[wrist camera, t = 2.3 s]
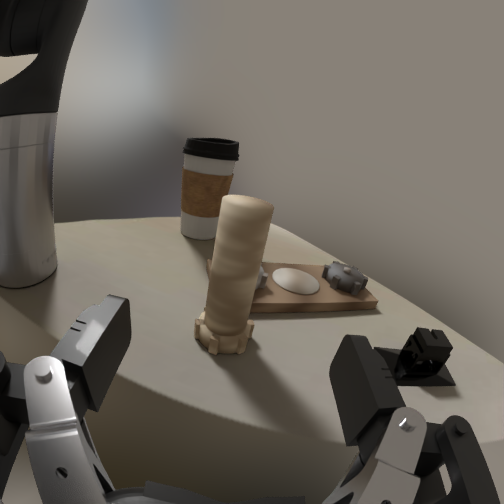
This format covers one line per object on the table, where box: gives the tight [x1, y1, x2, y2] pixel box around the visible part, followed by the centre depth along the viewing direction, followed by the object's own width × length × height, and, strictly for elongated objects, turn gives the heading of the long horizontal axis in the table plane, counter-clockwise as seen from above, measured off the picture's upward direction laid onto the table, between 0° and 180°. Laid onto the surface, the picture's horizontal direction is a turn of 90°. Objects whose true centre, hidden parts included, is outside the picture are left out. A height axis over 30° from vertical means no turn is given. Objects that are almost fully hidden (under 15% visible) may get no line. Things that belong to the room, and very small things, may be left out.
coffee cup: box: [181, 138, 239, 240], centre depth 42 cm, size 8×8×15 cm
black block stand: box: [374, 327, 456, 386], centre depth 23 cm, size 12×7×5 cm, turn 84°
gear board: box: [206, 259, 378, 313], centre depth 33 cm, size 20×9×3 cm, turn 105°
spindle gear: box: [194, 195, 274, 355], centre depth 22 cm, size 5×5×12 cm
